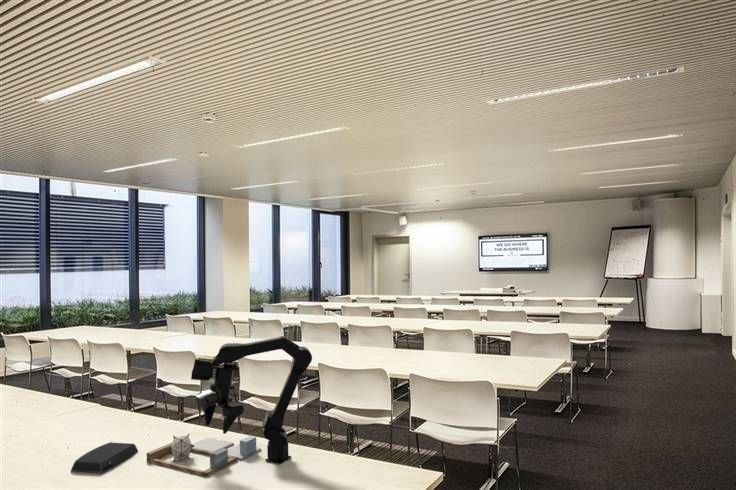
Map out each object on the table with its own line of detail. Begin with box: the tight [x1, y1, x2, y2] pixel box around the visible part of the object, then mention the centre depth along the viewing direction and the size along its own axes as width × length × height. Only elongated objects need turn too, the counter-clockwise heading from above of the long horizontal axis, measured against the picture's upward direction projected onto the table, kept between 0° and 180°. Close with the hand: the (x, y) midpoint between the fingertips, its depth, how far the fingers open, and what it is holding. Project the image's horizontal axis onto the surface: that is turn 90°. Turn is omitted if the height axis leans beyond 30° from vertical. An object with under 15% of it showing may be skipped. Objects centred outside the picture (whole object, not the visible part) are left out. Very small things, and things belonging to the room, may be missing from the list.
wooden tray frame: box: [146, 441, 239, 478], centre depth 182 cm, size 28×14×6 cm, turn 61°
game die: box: [169, 433, 194, 463], centre depth 184 cm, size 9×8×10 cm
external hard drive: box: [70, 441, 139, 475], centre depth 183 cm, size 13×19×4 cm
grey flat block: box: [191, 435, 262, 461], centre depth 192 cm, size 26×10×6 cm, turn 61°
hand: (216, 429), depth 177 cm, fingers open, 9 cm apart
